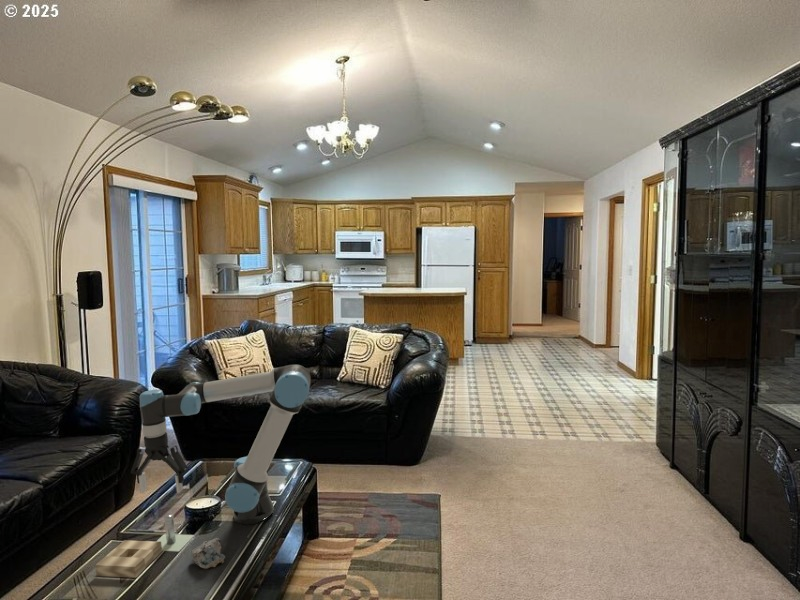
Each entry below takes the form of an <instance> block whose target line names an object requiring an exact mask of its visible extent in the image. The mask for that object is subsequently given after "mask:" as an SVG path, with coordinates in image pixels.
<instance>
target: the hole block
mask: <svg viewBox="0 0 800 600" xmlns="http://www.w3.org/2000/svg"><path fill="white" fill-rule="evenodd" d="M156 541H157V540H156ZM156 541H151V540H131V539H130V540H126V539H123V541H121V543H119V544H118V545H117V546H116V547H115V548H114V549H112V550H111V551H109V553H108V554H107V555H105V556H104V557H103V558H102V559H101V560H99V561H98V562H97V563H96V564H95V573H96V575H95V576H97V577H114V578H115V577H116V578H117V577H118V578H137V577H138V576H139V575H141V574H142V573H143V571H144V570H146V568H147V567H149V566H150V565H151V564H152V562H153V561H155V559H157V557H158V556H160V555H161V553H163V551H162V545H161V542H156Z"/></svg>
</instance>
